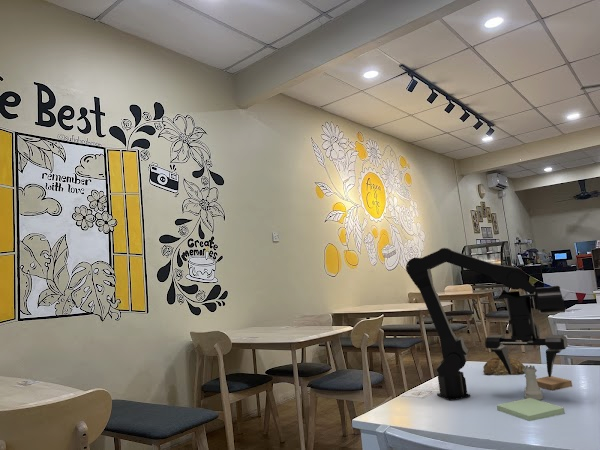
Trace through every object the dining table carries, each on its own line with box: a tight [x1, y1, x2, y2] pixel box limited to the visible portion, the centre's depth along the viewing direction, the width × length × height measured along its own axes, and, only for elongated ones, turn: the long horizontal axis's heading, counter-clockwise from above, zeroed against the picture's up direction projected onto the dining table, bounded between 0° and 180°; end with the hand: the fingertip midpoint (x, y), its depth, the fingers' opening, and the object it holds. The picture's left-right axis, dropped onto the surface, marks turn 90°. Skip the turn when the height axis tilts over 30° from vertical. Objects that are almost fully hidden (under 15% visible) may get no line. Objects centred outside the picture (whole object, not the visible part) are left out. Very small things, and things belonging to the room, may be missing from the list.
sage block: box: [496, 398, 566, 422], centre depth 103 cm, size 10×10×2 cm
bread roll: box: [482, 356, 525, 376], centre depth 144 cm, size 13×12×5 cm
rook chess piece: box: [523, 364, 544, 401], centre depth 113 cm, size 4×4×8 cm
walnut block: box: [536, 375, 573, 391], centre depth 122 cm, size 7×7×2 cm
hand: (530, 375), depth 114 cm, fingers open, 9 cm apart
